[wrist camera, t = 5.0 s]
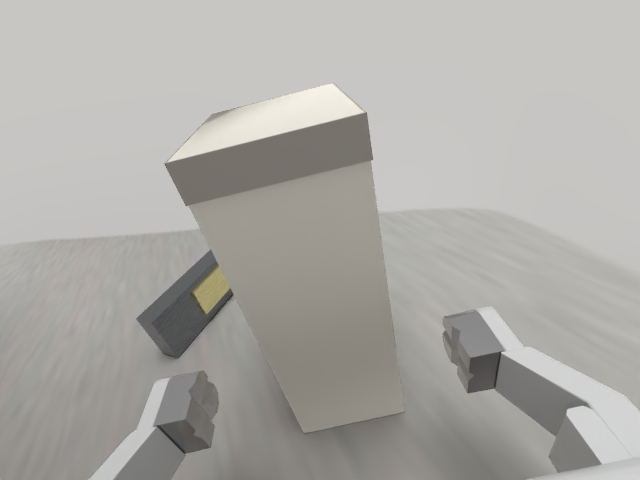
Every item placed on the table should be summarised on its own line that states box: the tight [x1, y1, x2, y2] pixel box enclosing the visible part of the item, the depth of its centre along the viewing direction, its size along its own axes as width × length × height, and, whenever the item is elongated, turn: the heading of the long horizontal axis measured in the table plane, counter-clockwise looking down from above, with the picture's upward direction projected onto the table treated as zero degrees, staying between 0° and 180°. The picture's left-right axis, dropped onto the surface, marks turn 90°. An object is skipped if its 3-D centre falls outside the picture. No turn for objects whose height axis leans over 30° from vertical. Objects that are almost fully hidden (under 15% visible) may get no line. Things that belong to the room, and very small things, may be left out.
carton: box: [165, 83, 405, 434], centre depth 14 cm, size 5×6×14 cm
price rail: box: [136, 250, 233, 358], centre depth 25 cm, size 2×14×4 cm, turn 156°
